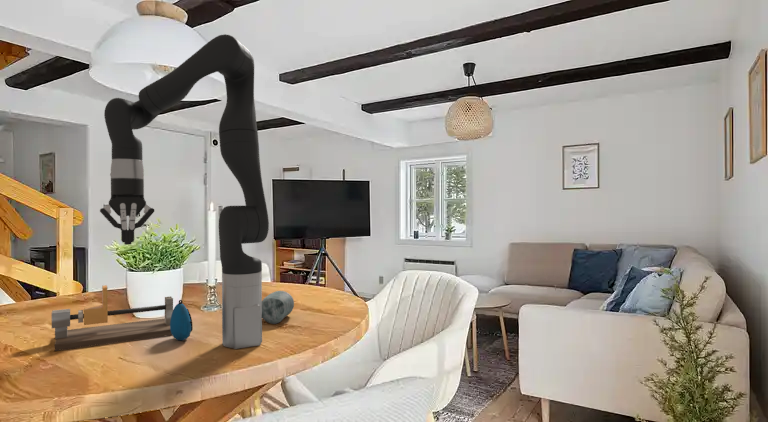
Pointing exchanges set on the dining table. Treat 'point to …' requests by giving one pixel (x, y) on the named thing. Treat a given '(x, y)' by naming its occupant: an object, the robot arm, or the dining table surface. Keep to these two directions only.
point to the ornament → (181, 322)
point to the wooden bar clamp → (109, 328)
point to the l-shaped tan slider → (97, 311)
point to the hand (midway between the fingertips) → (128, 244)
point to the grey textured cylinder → (277, 306)
